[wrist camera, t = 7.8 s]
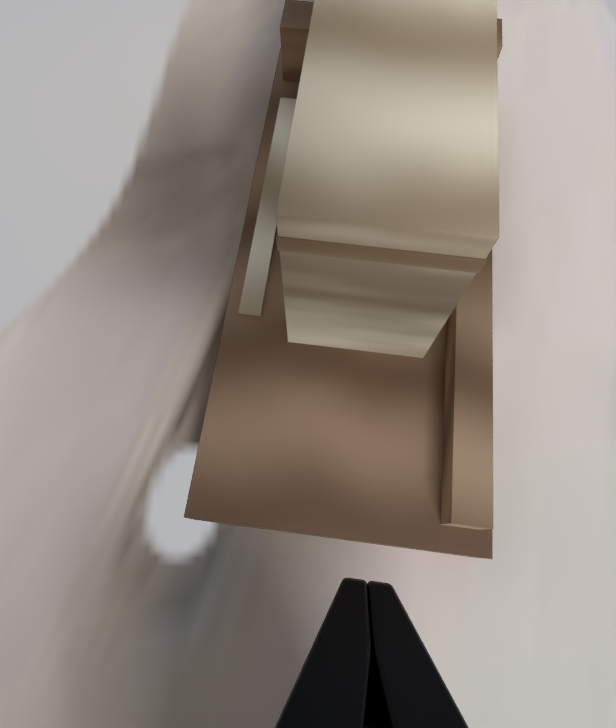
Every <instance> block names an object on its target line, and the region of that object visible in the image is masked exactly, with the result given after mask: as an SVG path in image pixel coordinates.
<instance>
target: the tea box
mask: <svg viewBox="0 0 616 728" xmlns="http://www.w3.org/2000/svg"><path fill="white" fill-rule="evenodd" d="M276 219H277V236H276V241H277V251H280V262H281V272H282V283H283V294H284V304H285V315H286V326H287V336H288V342H293V343H301V344H310V345H318V346H327V347H335V348H343V349H352V350H360V351H369V352H377V353H386V354H394V355H402V356H411V357H419V358H423V357H424V356H425V354H426V352H427V351H428V349H429V348H430V346H431V345H432V343H433V341H434V340H435V338H436V337H437V335H438V333H439V332H440V330H441V329H442V327H443V326H444V324H445V322H446V321H447V319H448V318H449V316H450V314H451V313H452V311H453V310H454V308H455V306H456V305H457V303H458V302H459V300H460V299H461V297H462V295H463V294H464V292H465V291H466V289H467V287H468V286H469V284H470V283H471V281H472V279H473V278H474V276H475V275H476V273H480V271H481V270H482V268H483V266H484V265H485V263H486V262H487V256H488V254H489V252H490V251H491V249H492V248H493V246H494V245H495V243H496V241H497V240H498V238H499V181H498V81H497V0H314V5H313V11H312V17H311V22H310V28H309V33H308V39H307V44H306V50H305V55H304V61H303V66H302V72H301V77H300V83H299V89H298V94H297V100H296V105H295V111H294V116H293V122H292V127H291V133H290V138H289V144H288V149H287V155H286V161H285V166H284V172H283V177H282V183H281V188H280V194H279V199H278V205H277V210H276Z"/></svg>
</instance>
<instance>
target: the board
mask: <svg viewBox="0 0 616 728" xmlns="http://www.w3.org/2000/svg"><path fill="white" fill-rule="evenodd" d="M313 5H314V2H306V1H295V0H286V1H285V6H284V11H283V15H282V20H281V25H280V34H281V48H280V53H279V58H278V63H277V68H276V72H275V77H274V82H273V87H272V92H271V97H270V102H269V106H268V111H267V116H266V121H265V126H264V131H263V136H262V140H261V145H260V150H259V155H258V160H257V165H256V170H255V174H254V179H253V184H252V189H251V194H250V199H249V203H248V208H247V213H246V218H245V223H244V228H243V233H242V237H241V242H240V247H239V252H238V257H237V262H236V267H235V271H234V276H233V281H232V286H231V291H230V296H229V301H228V305H227V310H226V315H225V320H224V325H223V330H222V335H221V339H220V344H219V349H218V354H217V359H216V364H215V369H214V373H213V378H212V383H211V388H210V393H209V398H208V403H207V407H206V412H205V417H204V422H203V427H202V432H201V437H200V441H199V446H198V451H197V456H196V461H195V466H194V471H193V475H192V480H191V486H190V490H189V495H188V500H187V505H186V509H185V514H184V517H185V518H190V519H195V520H202V521H210V522H217V523H224V524H232V525H239V526H247V527H254V528H261V529H269V530H276V531H284V532H291V533H298V534H306V535H313V536H321V537H328V538H335V539H343V540H350V541H358V542H365V543H372V544H380V545H387V546H395V547H402V548H409V549H417V550H424V551H432V552H439V553H446V554H454V555H461V556H469V557H476V558H488V559H492V529H493V357H492V249H491V251H490V252H489V254H488V256H487V262H486V263H485V265H484V266H483V268H482V270H481V271H480V273H476V275H475V276H474V278H473V279H472V281H471V283H470V284H469V286H468V287H467V289H466V291H465V292H464V294H463V295H462V297H461V299H460V300H459V302H458V303H457V305H456V306H455V308H454V310H453V311H452V313H451V314H450V316H449V318H448V319H447V321H446V322H445V324H444V326H443V327H442V329H441V330H440V332H439V333H438V335H437V337H436V338H435V340H434V341H433V343H432V345H431V346H430V348H429V349H428V351H427V352H426V354H425V356H424V357H423V358H419V357H411V356H402V355H394V354H386V353H377V352H369V351H360V350H352V349H343V348H335V347H327V346H318V345H310V344H301V343H293V342H288V336H287V326H286V315H285V304H284V294H283V283H282V272H281V262H280V251H277V241H276V236H277V219H276V210H277V205H278V199H279V194H280V188H281V183H282V177H283V172H284V166H285V161H286V155H287V149H288V144H289V138H290V133H291V127H292V122H293V116H294V111H295V105H296V100H297V94H298V89H299V83H300V77H301V72H302V66H303V61H304V55H305V50H306V44H307V39H308V33H309V28H310V22H311V17H312V11H313ZM501 49H502V19H497V59H498V57H499V54H500V52H501Z"/></svg>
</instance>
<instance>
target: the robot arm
mask: <svg viewBox="0 0 616 728" xmlns="http://www.w3.org/2000/svg"><path fill="white" fill-rule="evenodd" d="M275 728H468V726H467V724H466V722H465V720H464V718H463V717H462V715H461V713H460V711H459V709H458V707H457V705H456V703H455V702H454V700H453V698H452V696H451V694H450V692H449V690H448V689H447V687H446V685H445V683H444V681H443V679H442V677H441V676H440V674H439V672H438V670H437V668H436V666H435V664H434V663H433V661H432V659H431V657H430V655H429V653H428V651H427V650H426V648H425V646H424V644H423V642H422V640H421V638H420V636H419V635H418V633H417V631H416V629H415V627H414V625H413V623H412V622H411V620H410V618H409V616H408V614H407V612H406V610H405V609H404V607H403V605H402V603H401V601H400V599H399V597H398V596H397V594H396V592H395V590H394V588H393V587H392V586H391V585H390V584H388V583H382V582H375V581H370V582H368V583H366V581H364V580H360V579H353V578H344V579H343V580H342V582H341V584H340V587H339V589H338V591H337V593H336V595H335V597H334V600H333V602H332V604H331V606H330V608H329V611H328V613H327V615H326V617H325V619H324V622H323V624H322V626H321V628H320V630H319V632H318V635H317V637H316V639H315V641H314V643H313V646H312V648H311V650H310V652H309V654H308V656H307V659H306V661H305V663H304V665H303V667H302V670H301V672H300V674H299V676H298V678H297V680H296V683H295V685H294V687H293V689H292V691H291V694H290V696H289V698H288V700H287V702H286V704H285V707H284V709H283V711H282V713H281V715H280V718H279V720H278V722H277V724H276V726H275Z"/></svg>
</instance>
